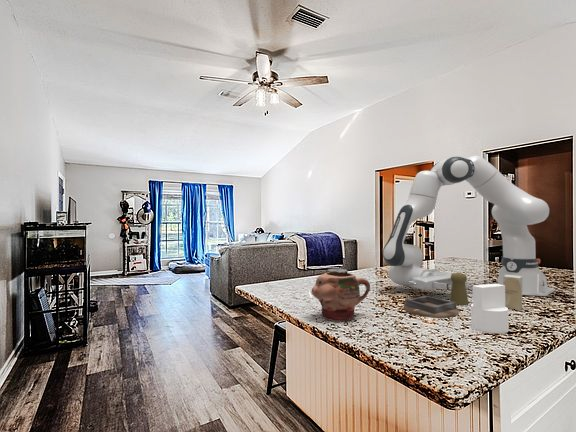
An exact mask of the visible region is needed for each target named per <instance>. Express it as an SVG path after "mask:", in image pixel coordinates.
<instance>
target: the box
mask: <svg viewBox="0 0 576 432" xmlns="http://www.w3.org/2000/svg"><path fill="white" fill-rule="evenodd" d="M522 278H523V277H522V276H515V275H504V276H503V285H505V307H507V308H509V309H508V310H514V309H515V310H516V311H521V310H522V308H523V295H522Z"/></svg>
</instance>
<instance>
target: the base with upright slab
mask: <svg viewBox="0 0 576 432" xmlns="http://www.w3.org/2000/svg"><path fill="white" fill-rule="evenodd" d="M470 323H471V327H472V329H475V330H478V331H479V332H480V331H481V332H483V333H491V334H507V333H508V332H509V330H510V329H509V309H508V308H507V307H505V285H501V284H498V283H485V284H476V285H472V303H471V305H470Z"/></svg>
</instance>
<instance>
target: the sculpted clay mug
mask: <svg viewBox="0 0 576 432" xmlns="http://www.w3.org/2000/svg"><path fill="white" fill-rule="evenodd" d="M360 285H363V286H364V287H365V291H364V293H363V295H361V296H360V294H361V291H360ZM370 290H371V284H370V282H369V281H368V280H367V279H366V278H364V277H363V278H362V277H356V275H355V274H353V273H350V272H347V273H345V272H336V271H332V272H328V271H327V272H325V273H323V274H320V275H319V276H318V277H317V278H316V280H315V284H314V285H313V286H312V288H311V295H312V296H313V297H314V298H316V299H317V300H318V301H319V303H320V305H321V316H322V317H323V318H325V319H326V320H329V321H332V322H347V321H351V320H352V319H354V318H353V317H354V316H355V308H356V306H357V305H358V304H360V303H362V302H363V301H364V300H365V299H366V298H367V296H368V295H369V293H370Z"/></svg>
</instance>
